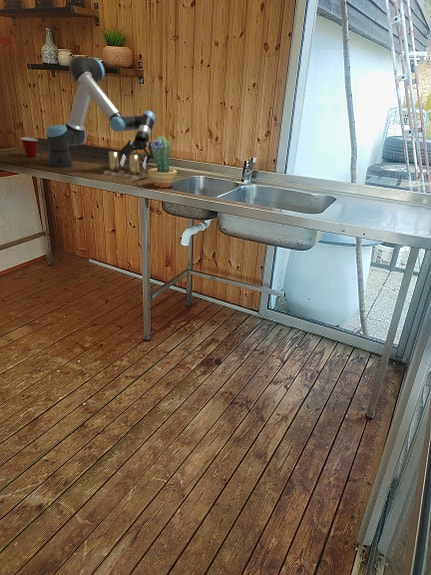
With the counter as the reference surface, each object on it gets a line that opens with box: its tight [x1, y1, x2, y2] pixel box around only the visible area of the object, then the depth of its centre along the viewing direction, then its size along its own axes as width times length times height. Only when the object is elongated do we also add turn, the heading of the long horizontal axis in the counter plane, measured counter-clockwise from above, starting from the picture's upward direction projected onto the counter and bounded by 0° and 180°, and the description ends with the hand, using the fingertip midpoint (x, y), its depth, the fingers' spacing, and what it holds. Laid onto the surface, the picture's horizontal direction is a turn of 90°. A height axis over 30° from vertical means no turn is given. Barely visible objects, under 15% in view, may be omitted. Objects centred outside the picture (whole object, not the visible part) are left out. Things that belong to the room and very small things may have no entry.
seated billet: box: [108, 151, 120, 173], centre depth 229 cm, size 5×5×12 cm
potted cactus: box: [147, 136, 178, 188], centre depth 211 cm, size 15×15×25 cm
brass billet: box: [128, 153, 140, 176], centre depth 224 cm, size 5×5×12 cm
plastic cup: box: [20, 137, 39, 158], centre depth 271 cm, size 11×11×12 cm
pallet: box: [100, 169, 149, 183], centre depth 229 cm, size 23×14×3 cm, turn 65°
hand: (132, 166), depth 222 cm, fingers open, 13 cm apart
